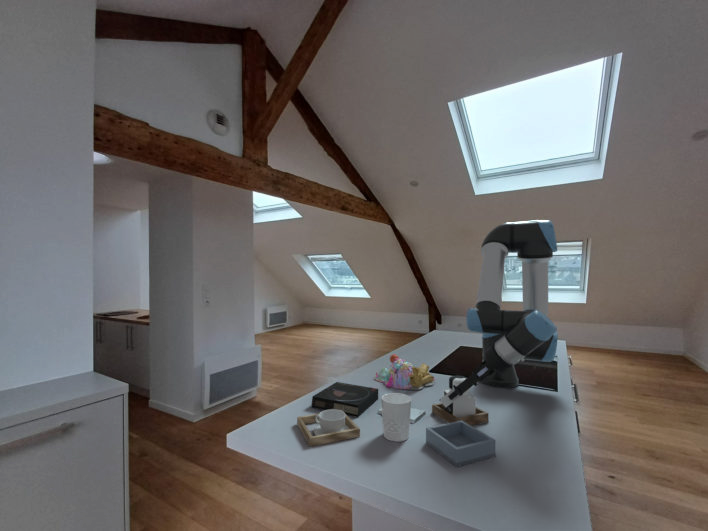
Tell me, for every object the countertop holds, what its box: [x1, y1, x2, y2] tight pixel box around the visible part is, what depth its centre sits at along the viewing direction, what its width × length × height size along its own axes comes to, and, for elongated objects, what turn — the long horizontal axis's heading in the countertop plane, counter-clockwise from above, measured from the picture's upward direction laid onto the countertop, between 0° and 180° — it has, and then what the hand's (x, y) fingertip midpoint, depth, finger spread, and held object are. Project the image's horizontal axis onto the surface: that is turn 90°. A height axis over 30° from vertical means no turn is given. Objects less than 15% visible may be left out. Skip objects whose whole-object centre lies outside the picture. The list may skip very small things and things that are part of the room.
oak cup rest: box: [296, 410, 361, 447], centre depth 91 cm, size 14×14×2 cm
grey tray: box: [425, 420, 496, 468], centre depth 82 cm, size 12×12×4 cm
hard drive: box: [377, 407, 427, 424], centre depth 103 cm, size 2×8×12 cm
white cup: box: [381, 392, 412, 443], centre depth 89 cm, size 8×8×10 cm
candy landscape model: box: [374, 353, 436, 391], centre depth 136 cm, size 25×24×9 cm
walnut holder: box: [431, 402, 489, 426], centre depth 101 cm, size 12×12×2 cm
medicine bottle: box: [443, 375, 477, 418], centre depth 101 cm, size 7×7×12 cm
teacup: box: [313, 409, 350, 436], centre depth 91 cm, size 10×10×5 cm
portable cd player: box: [311, 381, 379, 418], centre depth 111 cm, size 16×17×4 cm
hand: (449, 398), depth 103 cm, fingers closed on medicine bottle, 10 cm apart
